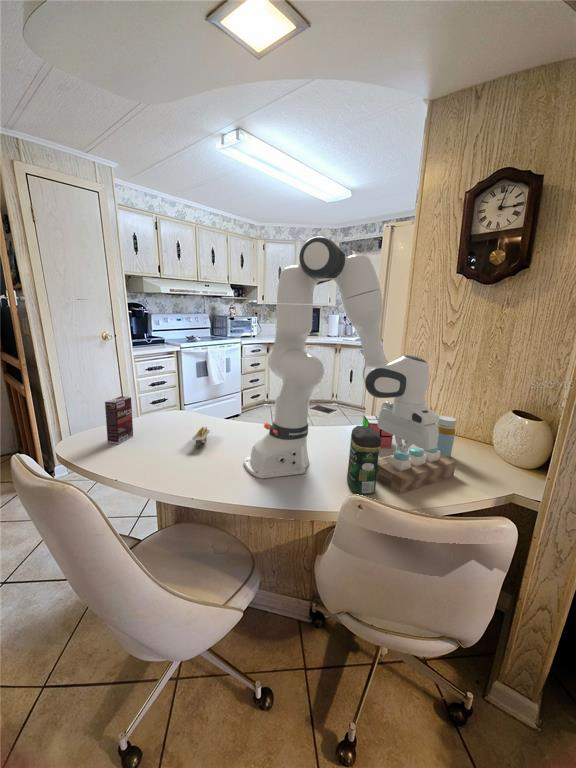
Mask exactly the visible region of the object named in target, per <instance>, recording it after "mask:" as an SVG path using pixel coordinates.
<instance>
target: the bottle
mask: <svg viewBox="0 0 576 768" xmlns="http://www.w3.org/2000/svg"><path fill="white" fill-rule="evenodd" d="M438 416H439V421H438V422H437V423H436V424H437V426H438V429H439V434H438V443H437V447H438V451H440V455H442V456H445V457H447V458H449V459H451V457H452V452H453V445H454V440H455V436H456V422H457V418H454V417H452V416H449V415H438Z"/></svg>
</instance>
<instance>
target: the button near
mask: <svg viewBox="0 0 576 768" xmlns="http://www.w3.org/2000/svg"><path fill="white" fill-rule="evenodd" d="M389 456H390V460H389V465H391V466H392V467H394V468H396V469H398V470H399V471H403V470H406V469H410V468H411V462H412V459H411V458H409V454H408V453H406V454H404V453H402V452H400V451H398V450H394V451H393V454H391V455H389Z"/></svg>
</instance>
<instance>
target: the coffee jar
mask: <svg viewBox="0 0 576 768" xmlns="http://www.w3.org/2000/svg"><path fill="white" fill-rule="evenodd" d="M349 445H350V446H349V455H348V466H347V473H346V483H347V485H348V487H349V489H350V490H351V491H352V492H354V493H356V494H359V495H370V494H374V492H375V491H376V486H377V479H376V477H377V466H378V459H379V455H380V451H381V448H380V447H381V437H380V435H379V434H378V433H377V432H376V431H375V430H374V429H372V428H370V426H362V425H356V426H354V428H352V429H351V436H350V444H349Z"/></svg>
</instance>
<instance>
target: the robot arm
mask: <svg viewBox="0 0 576 768" xmlns="http://www.w3.org/2000/svg"><path fill="white" fill-rule="evenodd" d="M299 251H300V252H299V259H298V260H299V264H296V265H290V266H287V267H285V268H283V269H282V271H281V272H280V274H279V279H278V285H277V294H276V331H275V338H274V343H273V346H272V351H271V352H270V354H269V356H268V359H267V360H268V367H269V369H270V370H271V372H272V373H273V374H274V375H275V377H277V378H280V379H282V387H281V390H280V392H279V395H278V396H277V397H276V399H275V401H274V420H273V422H272V423H269V422H265V423H264V424H263V428H264V429H266V430H269V431H268V433H267V434H265V435H264V436H263V437H262V438H261V439H260V440H258V441H257V442H256V443H254V444H253V446H252V448H251V453H250V455H249V456H246V457H244V459H243V465H244V468H245V469H246V471H248V473H250V474H251V475H252V476H254V477H256V478H259V479H270V478H278V477H286V476H292V475H293V476H294V475H295V476H296V475H302V474H305V473H306V468H307V467H308V466H310V458H309V453H308V445H307V444H308V443H307V442H308V439H307V438H308V437H307V436H308V434H309V423H308V419H309V418H308V417H309V416H308V415H309V405H310V401H311V397H312V394H313V391H314V389H315V387H316V386H318V385H319V384H320V383H321V381H322V379H323V378H324V372H325V368H324V367H325V366H324V365H323V363H322V361H321V360H320V359H319V358H318V357H317V356H315V355H314V354H312V353H311V352H309V351H305V345H306V341H307V339H308V336H309V334H310V333H311V332H312V330H313V311H314V308H313V307H314V290H315V287H316V285H317V286H318V285H321V284H324V283H326V282H330V281H334V282H335V283H336V284H337V287H338V289H339V291H340V297H341V300H342V305H343V308H344V310H345V313H346V316H347V318H348V321H349V323H350V324H351V325H352V327H353V329H355V332H356V333H357V335H358V337H359V341H360V344H361V348H362V352H363V357H364V368H363V372H362V378H363V381H364V384H365V389H366V390H367V392H368V393H369V395H371V396H372V397H374V398H377V399H378V398H379V399H386V398H387V399H390V398H393V403H390V402H388V401H385V402H383V403H382V404H381V406H380V407H381V408H380V411H379V414H378V416H379V418H378V423H377V425H378V428H380V429H382V430H384V431H386V432H388V433H390V434H392V435H393V436H395V437H394V439H395V443H396V445H397V446H396V451H400V452H402V453H404V454H406V453H408V451H409V448H410V447H412V445H414V446H415V447H417V448H422V449H424V450H432V449H434V448H435V447H436V446H437V443H438V434H439V429H438V426H437V422H438V421H439V416H440V415H439V414H437V413H435V411H433V410H432V409H431V408H429V406H427V405H426V392H427V390H428V386H429V380H430V379H429V378H430V366H429V364H428V363H429V362H427V361H426V360H425V359H423V358H422V357H418V356H415V355H410V354H403V355H402V356H401V357H399V358H396V359H394V360H392V361H390V362H389V361H388V360H387V358H386V355H385V352H384V347H383V342H382V339H381V338H382V337H381V332H380V331H381V330H380V329H381V328H380V327H381V321H382V318H383V315H384V304H383V303H384V301H383V295H382V290H381V284H380V282H379V277H378V275H377V272H376V270H375V267H374V264H373V262H372V260H371V259H370V258H369V257H368V256H367V255H365V254H357V253H356V254H352V255H348V256H347V255H346V254H345V253H344V252H343V251H342V249H340V247H339V246H338V245H337V244H336V243H335V242H334V241H333V240H331V239H330V238H328V237H325V236H314V237H312V238H309V239H308V240H307V241H305V243H304V244H303V245H302V247H301V249H300V250H299ZM403 440H404V443H403Z"/></svg>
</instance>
